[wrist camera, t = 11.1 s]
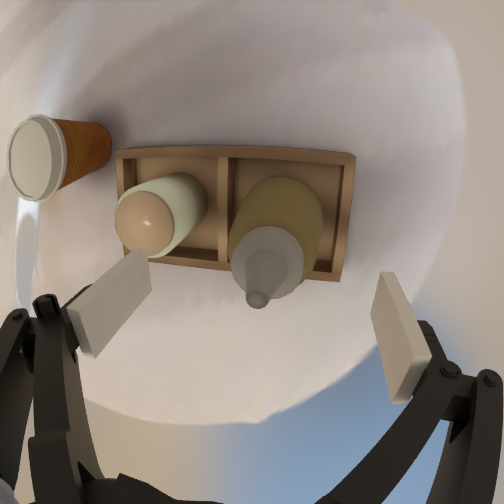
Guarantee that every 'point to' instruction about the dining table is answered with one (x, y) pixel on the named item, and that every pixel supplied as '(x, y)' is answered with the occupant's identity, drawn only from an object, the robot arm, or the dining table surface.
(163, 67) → the dining table surface
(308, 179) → the caddy
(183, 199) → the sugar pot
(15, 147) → the disposable coffee cup
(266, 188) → the squeeze bottle
